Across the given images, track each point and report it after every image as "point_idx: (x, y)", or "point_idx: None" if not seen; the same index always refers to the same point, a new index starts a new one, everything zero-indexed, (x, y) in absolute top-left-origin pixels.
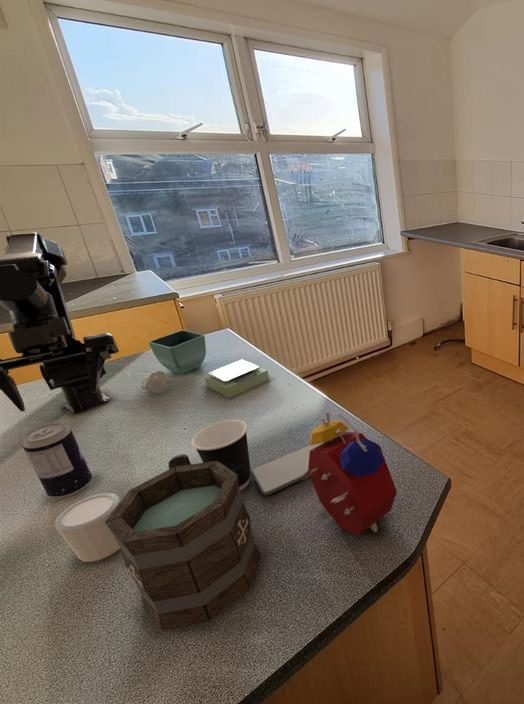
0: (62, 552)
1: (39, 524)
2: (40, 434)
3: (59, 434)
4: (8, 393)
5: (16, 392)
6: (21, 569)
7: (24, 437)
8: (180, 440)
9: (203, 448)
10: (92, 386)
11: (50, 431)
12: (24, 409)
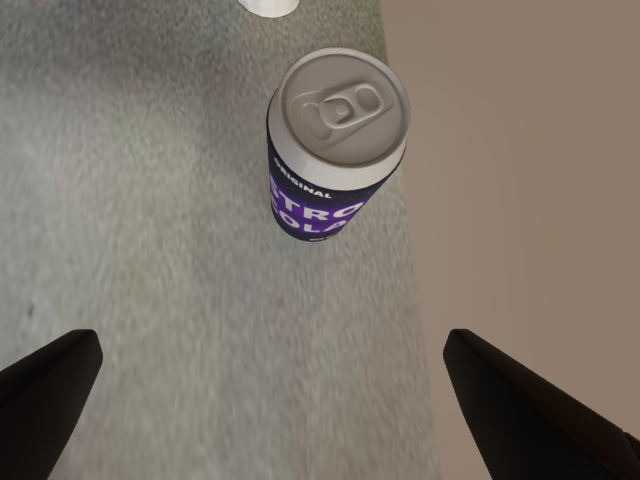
0: (322, 22)
1: None
2: (359, 109)
3: (299, 64)
4: (605, 432)
5: (550, 474)
6: (369, 29)
7: (407, 117)
8: (64, 246)
9: None
10: (59, 353)
11: (327, 96)
12: (446, 352)
